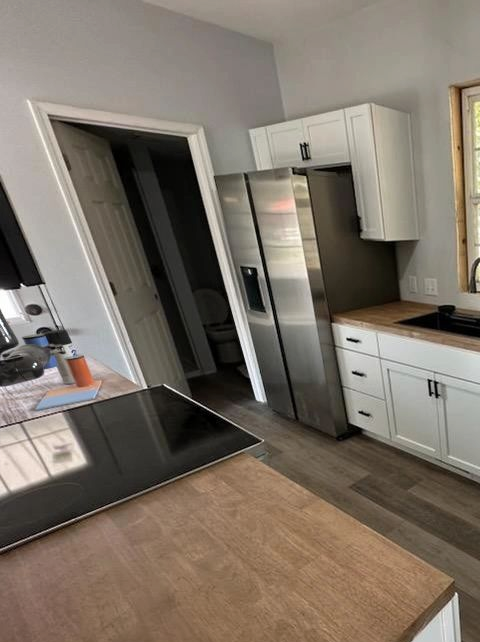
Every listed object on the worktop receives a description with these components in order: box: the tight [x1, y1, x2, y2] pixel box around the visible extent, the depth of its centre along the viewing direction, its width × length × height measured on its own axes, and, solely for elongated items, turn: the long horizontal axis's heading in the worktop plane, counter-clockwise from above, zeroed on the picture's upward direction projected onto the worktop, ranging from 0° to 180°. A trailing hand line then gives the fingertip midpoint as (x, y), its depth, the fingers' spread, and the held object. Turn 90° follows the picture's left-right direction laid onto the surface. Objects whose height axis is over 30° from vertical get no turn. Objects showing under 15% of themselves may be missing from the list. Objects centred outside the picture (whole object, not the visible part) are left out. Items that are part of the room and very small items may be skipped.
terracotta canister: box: [64, 354, 95, 387], centre depth 152 cm, size 5×5×11 cm
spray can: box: [41, 329, 78, 385], centre depth 156 cm, size 7×7×20 cm
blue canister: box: [21, 333, 58, 370], centre depth 136 cm, size 5×5×11 cm
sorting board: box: [34, 380, 103, 412], centre depth 146 cm, size 14×24×1 cm, turn 39°
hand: (41, 348), depth 138 cm, fingers closed on blue canister, 5 cm apart
